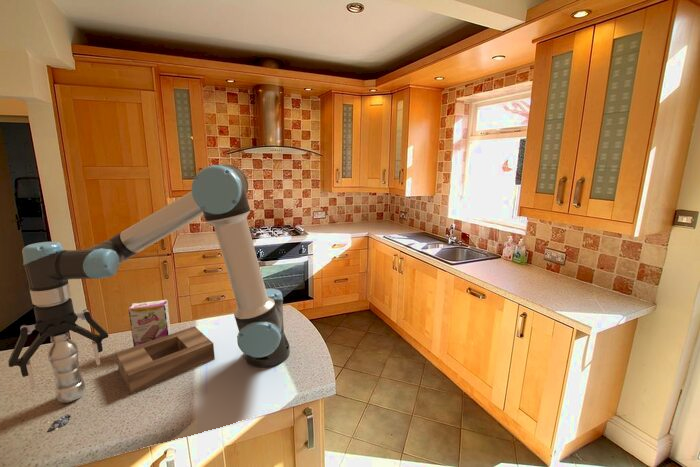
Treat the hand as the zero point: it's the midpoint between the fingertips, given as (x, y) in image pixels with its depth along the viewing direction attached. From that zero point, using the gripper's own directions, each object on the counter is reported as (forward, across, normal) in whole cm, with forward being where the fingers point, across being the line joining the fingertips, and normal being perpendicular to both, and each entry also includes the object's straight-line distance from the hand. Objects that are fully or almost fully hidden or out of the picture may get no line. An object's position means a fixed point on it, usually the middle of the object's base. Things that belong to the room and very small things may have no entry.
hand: (67, 373), depth 90 cm
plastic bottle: (+8, 0, 0) cm, 8 cm away
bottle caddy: (+8, -24, +2) cm, 25 cm away
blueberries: (+8, +4, +9) cm, 13 cm away
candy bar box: (+8, -24, -13) cm, 28 cm away
